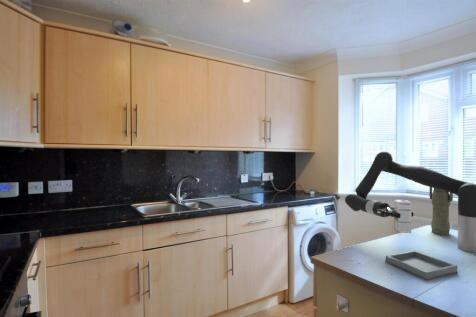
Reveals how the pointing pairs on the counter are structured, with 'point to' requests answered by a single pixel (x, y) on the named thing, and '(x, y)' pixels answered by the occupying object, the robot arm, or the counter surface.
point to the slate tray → (421, 265)
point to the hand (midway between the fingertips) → (406, 215)
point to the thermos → (440, 211)
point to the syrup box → (402, 216)
